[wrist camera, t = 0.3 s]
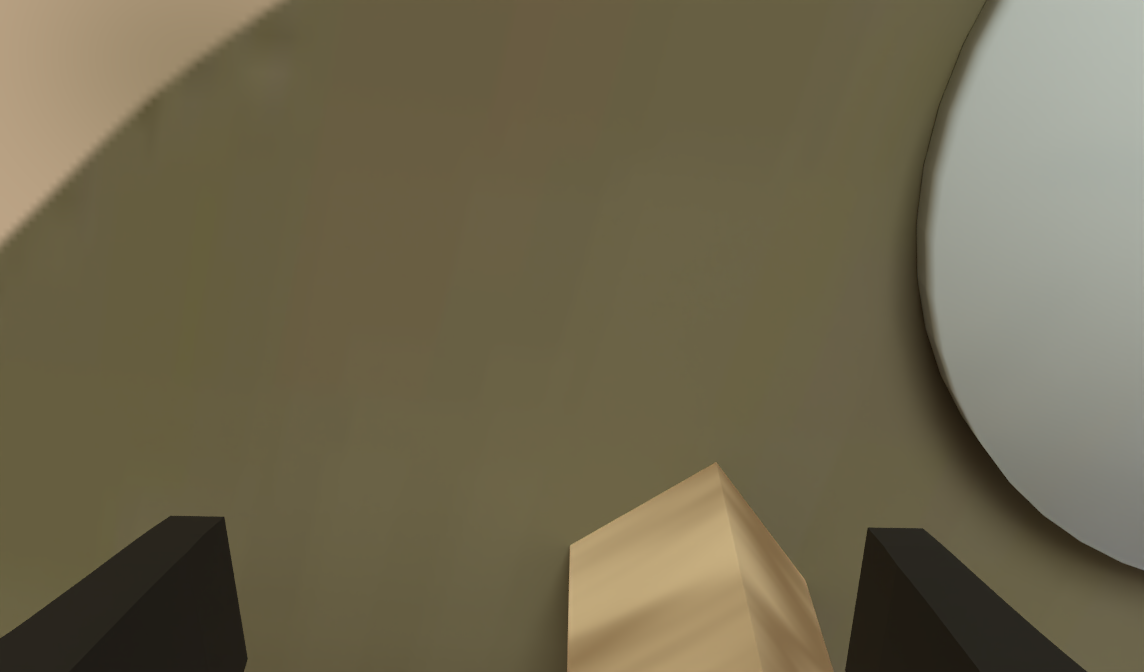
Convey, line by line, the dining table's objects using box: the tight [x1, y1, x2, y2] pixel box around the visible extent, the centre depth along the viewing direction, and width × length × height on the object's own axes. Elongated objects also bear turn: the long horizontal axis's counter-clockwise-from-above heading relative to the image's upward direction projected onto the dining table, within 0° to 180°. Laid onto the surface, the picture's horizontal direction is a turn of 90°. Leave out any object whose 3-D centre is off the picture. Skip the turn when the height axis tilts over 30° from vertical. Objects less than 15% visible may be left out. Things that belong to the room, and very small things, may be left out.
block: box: [567, 462, 834, 672], centre depth 20 cm, size 4×4×7 cm
